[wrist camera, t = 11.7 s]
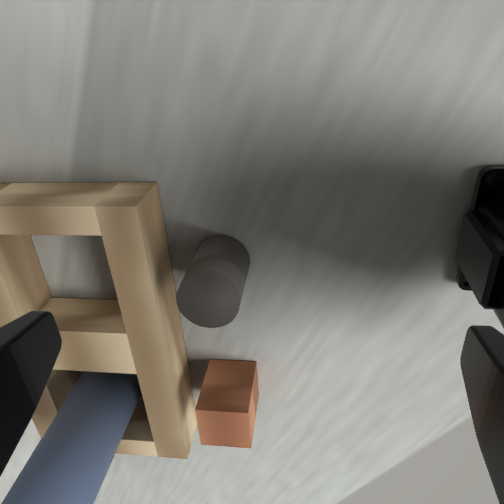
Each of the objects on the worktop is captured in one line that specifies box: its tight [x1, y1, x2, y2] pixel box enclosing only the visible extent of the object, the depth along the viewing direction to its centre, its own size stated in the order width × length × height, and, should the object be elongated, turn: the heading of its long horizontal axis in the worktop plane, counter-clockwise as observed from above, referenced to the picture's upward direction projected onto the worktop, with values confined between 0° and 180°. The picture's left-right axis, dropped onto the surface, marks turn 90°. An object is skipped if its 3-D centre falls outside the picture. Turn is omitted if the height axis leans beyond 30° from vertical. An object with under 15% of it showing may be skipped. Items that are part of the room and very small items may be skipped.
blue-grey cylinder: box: [2, 371, 142, 504], centre depth 24 cm, size 4×4×14 cm
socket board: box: [0, 182, 259, 459], centre depth 25 cm, size 14×18×4 cm
